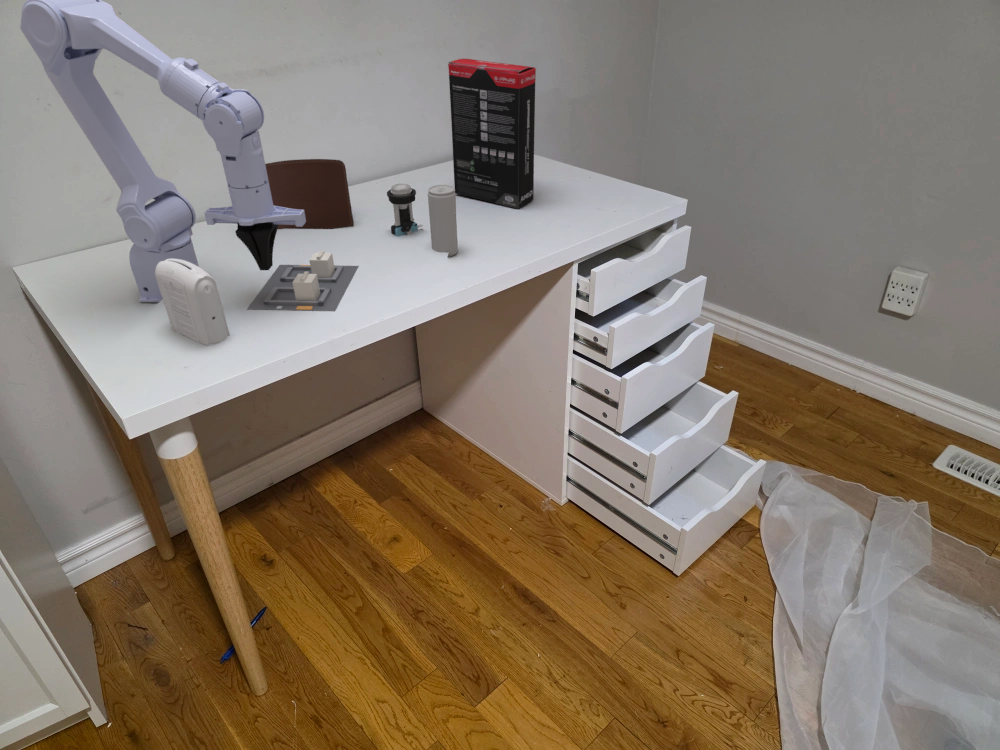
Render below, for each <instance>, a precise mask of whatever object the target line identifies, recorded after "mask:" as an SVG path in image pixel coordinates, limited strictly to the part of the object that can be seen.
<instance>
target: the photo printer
mask: <svg viewBox="0 0 1000 750" xmlns="http://www.w3.org/2000/svg"><path fill="white" fill-rule="evenodd" d="M155 276H156V279H157V282H158V286H159V289H160V292H161V295H162V298H163V299H162V301H163V304H164V307H165V310H166V314H167V316H168V319H169V323H170V325H171V328H172V329H173V330H174V331H175V332H177V333H179V334H180V335H183V336H184V337H187V338H188V339H190V340H193V341H194V342H197V343H199V344H202V345H205V346H207V347H209V346H210V347H211V345H216V344H220V343H222V342H224V341H225V340H226V339H227V338H228V337H230V336H231V334H230V329H229V327H228V323H227V318H226V315H225V311H224V308H223V304H222V300H221V295H220V293H219V289H218V285H217V282H216V280H215V278H213V277H212V276H211V274H209V273H208V272H207V271H206V270H205V269H202V267H200V266H199V267H198V266H196V265H194V264H192V263H190V262H188V261H185V260H181V259H166V260H165V261H161V262H159V263H158V264H157V266H156V270H155Z"/></svg>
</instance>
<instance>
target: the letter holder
mask: <svg viewBox="0 0 1000 750" xmlns="http://www.w3.org/2000/svg"><path fill="white" fill-rule="evenodd" d="M265 165H266V170H267V175H268V181H269V186H270V191H271V196H272V201H273V205H274V206H280V207H285V208H291V209H299V210H304V212H305V218H306V222H305V224H304V225H303V226H302V227H296V225H280V224H279V226H278V229H277V230H284V229H285V230H286V229H287V230H291V229H292V230H335V229H342V228H353V227H354V216H353V212H352V211H353V210H352V204H351V198H350V197H351V196H350V189H349V184H348V178H347V169H346V164H345V163H344V161H343V160H341V159H331V158H329V159H328V158H326V159H325V158H310V159H309V158H305V159H290V160H289V159H287V160H281V161H273V162H268V163H267V162H266V163H265Z"/></svg>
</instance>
